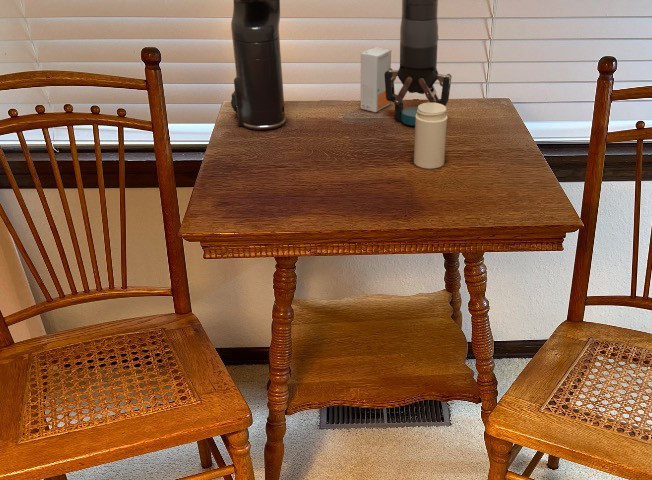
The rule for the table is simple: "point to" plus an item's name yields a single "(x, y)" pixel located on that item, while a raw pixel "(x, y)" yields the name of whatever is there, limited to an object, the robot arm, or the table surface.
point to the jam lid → (409, 115)
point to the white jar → (430, 135)
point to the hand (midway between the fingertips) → (416, 122)
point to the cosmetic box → (374, 78)
